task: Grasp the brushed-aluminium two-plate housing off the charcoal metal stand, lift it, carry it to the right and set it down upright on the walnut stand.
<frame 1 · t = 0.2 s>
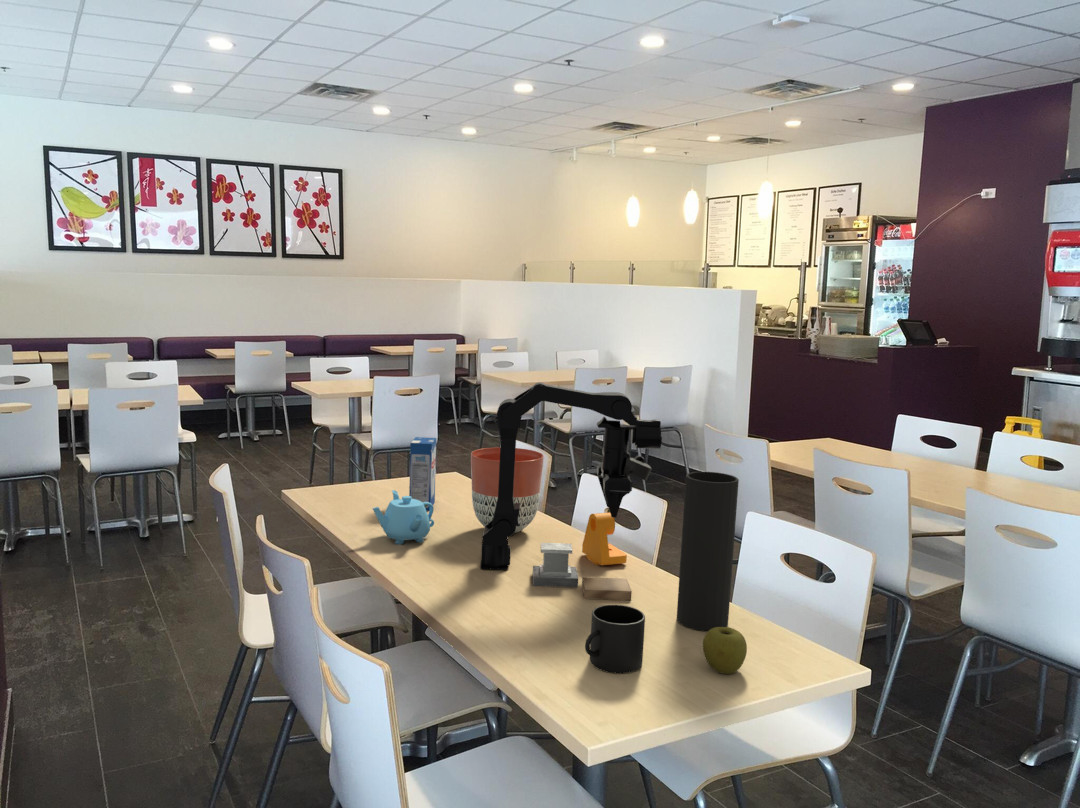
hand: (611, 512, 200), 14 cm above the table, fingers open, 9 cm apart
milk carton: (422, 506, 253), on the table
planter: (504, 532, 230), on the table
vase: (702, 622, 172), on the table
teapot: (403, 540, 219), on the table
apple: (723, 670, 150), on the table
stand a: (554, 580, 193), on the table
stand b: (606, 592, 186), on the table
housing: (555, 571, 193), point 2 cm above the table, touching stand a
mug: (610, 665, 151), on the table
bracket: (604, 561, 209), on the table
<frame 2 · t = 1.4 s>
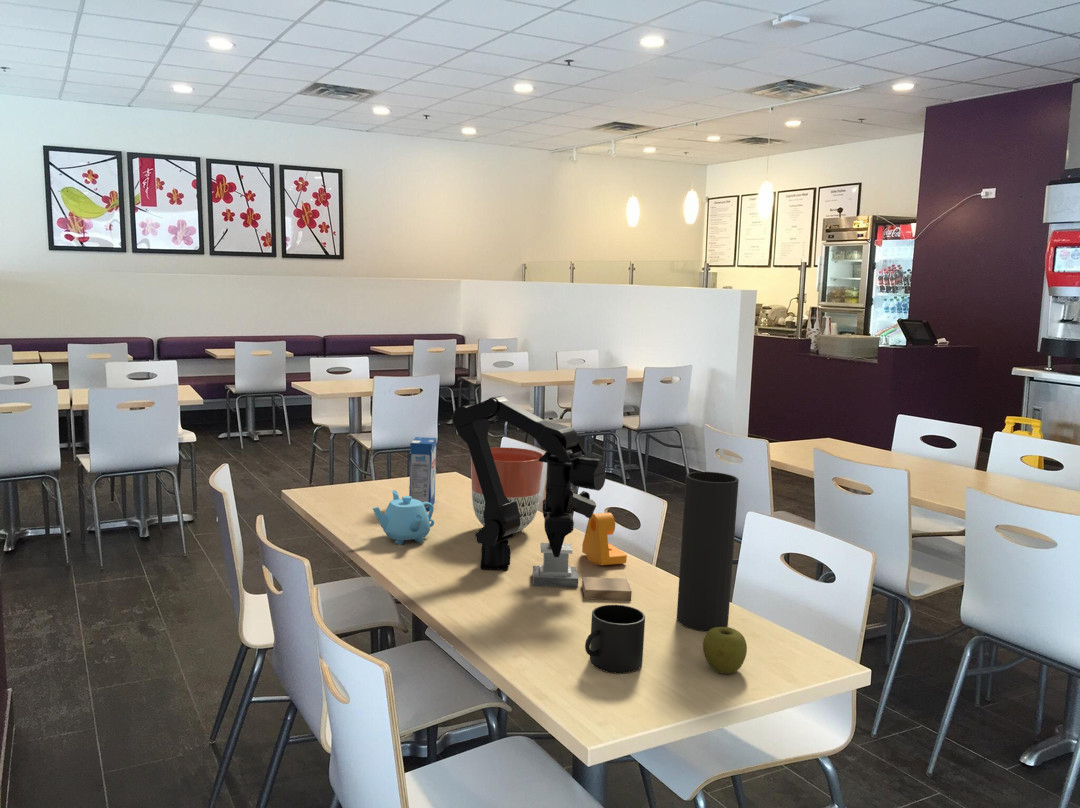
hand: (555, 550, 192), 7 cm above the table, fingers open, 9 cm apart
nothing on the table moved.
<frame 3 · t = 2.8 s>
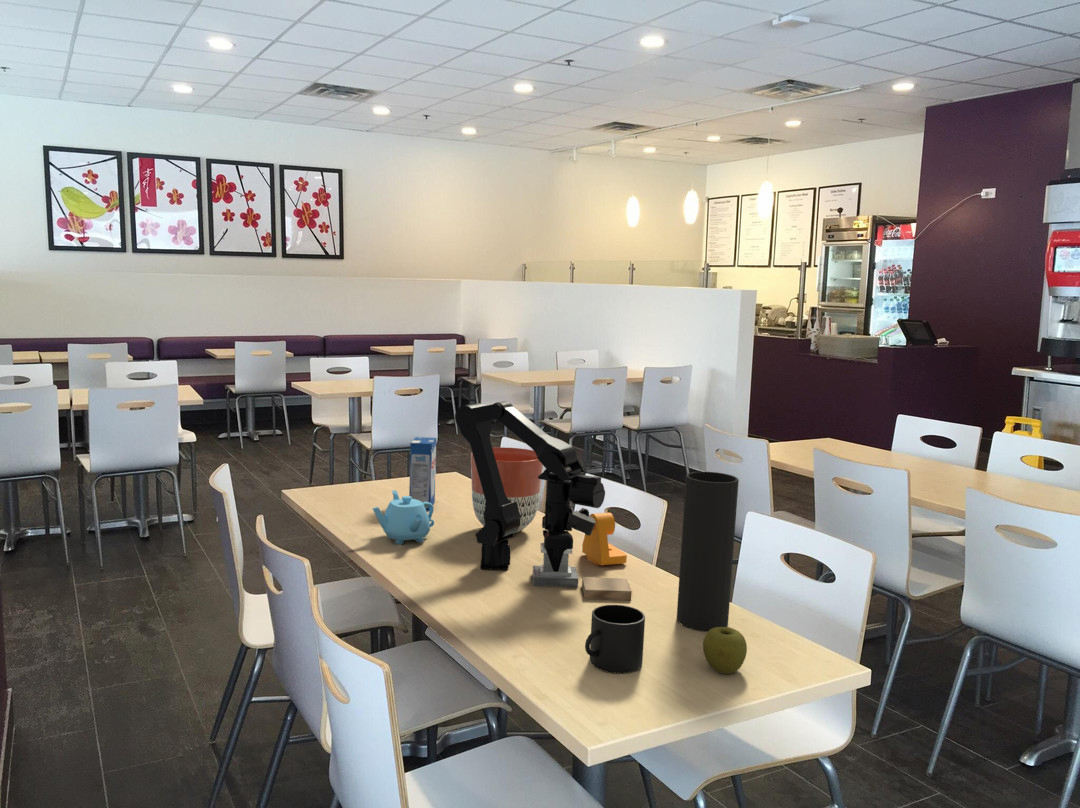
hand: (555, 567, 192), 3 cm above the table, fingers closed on housing, 5 cm apart
housing: (555, 571, 193), point 2 cm above the table, touching gripper, stand a
everything else where it was.
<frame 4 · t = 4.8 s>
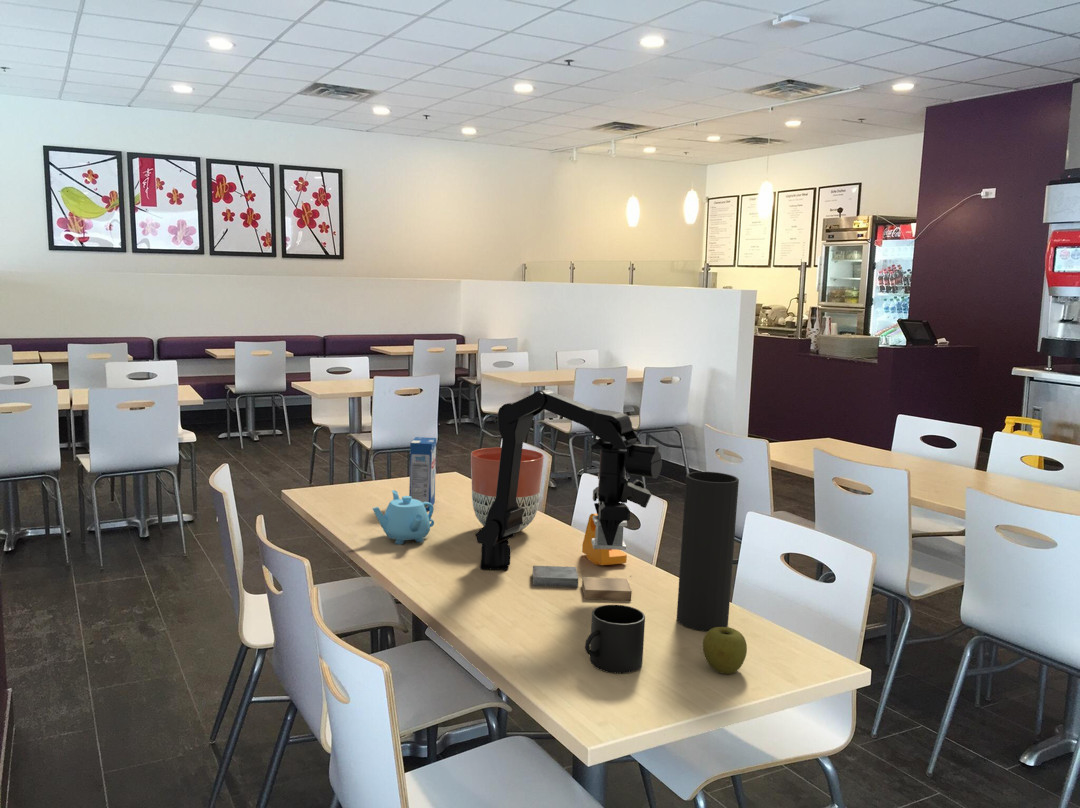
hand: (608, 541, 185), 12 cm above the table, fingers closed on housing, 5 cm apart
housing: (608, 545, 185), point 11 cm above the table, touching gripper
everything else where it was.
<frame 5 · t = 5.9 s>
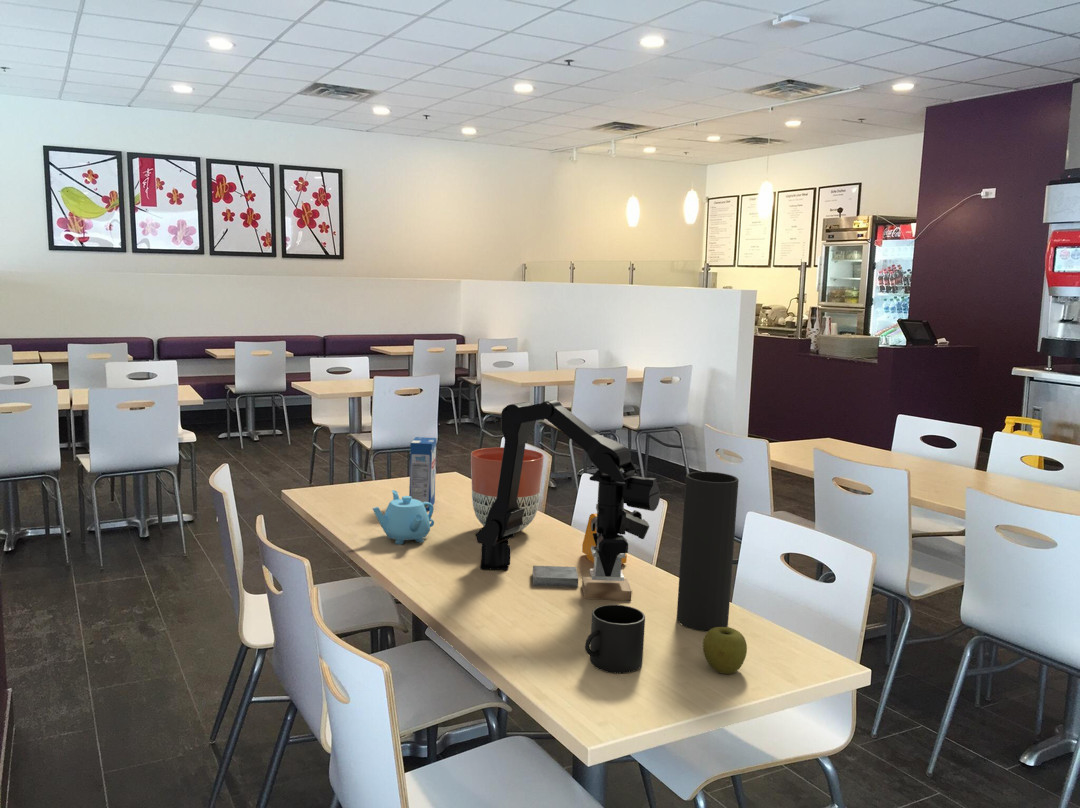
hand: (606, 572, 186), 5 cm above the table, fingers closed on housing, 5 cm apart
housing: (606, 576, 186), point 4 cm above the table, touching gripper
everything else where it was.
when the fingers open (3 cm above the table, at t = 7.0 s): housing stays where it is, resting on stand b.
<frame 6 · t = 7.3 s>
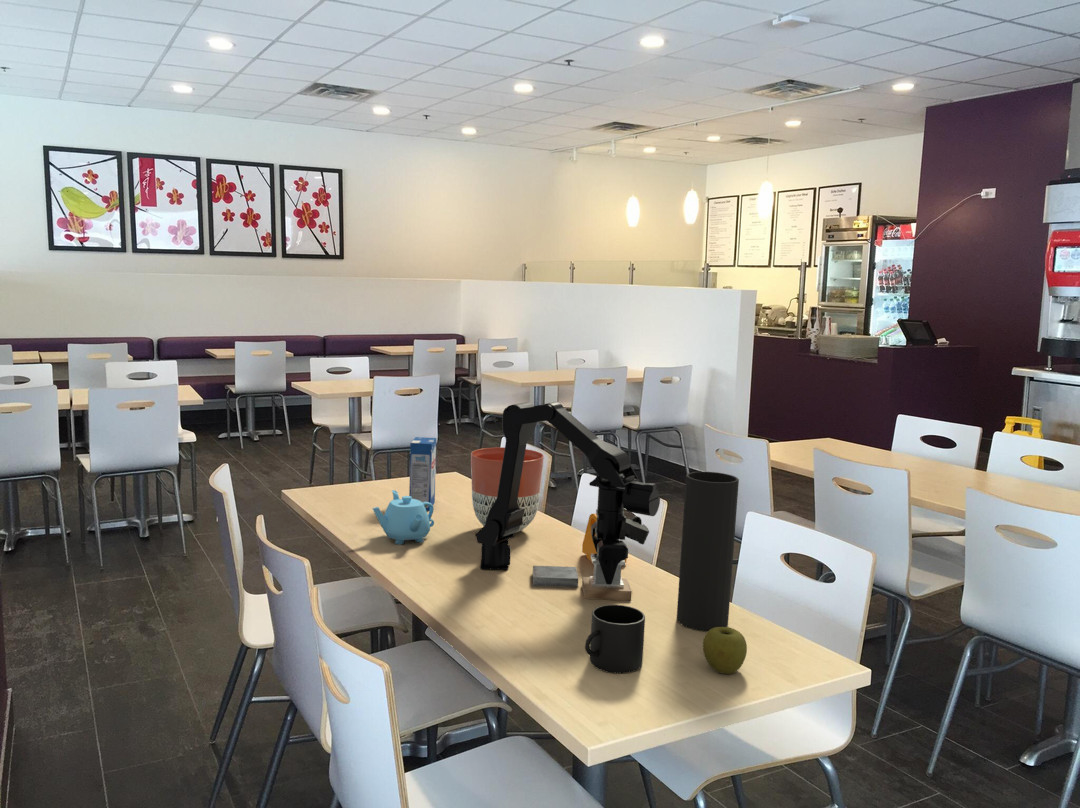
hand: (606, 577, 186), 3 cm above the table, fingers open, 8 cm apart
housing: (606, 583, 186), point 2 cm above the table, touching stand b
everything else where it was.
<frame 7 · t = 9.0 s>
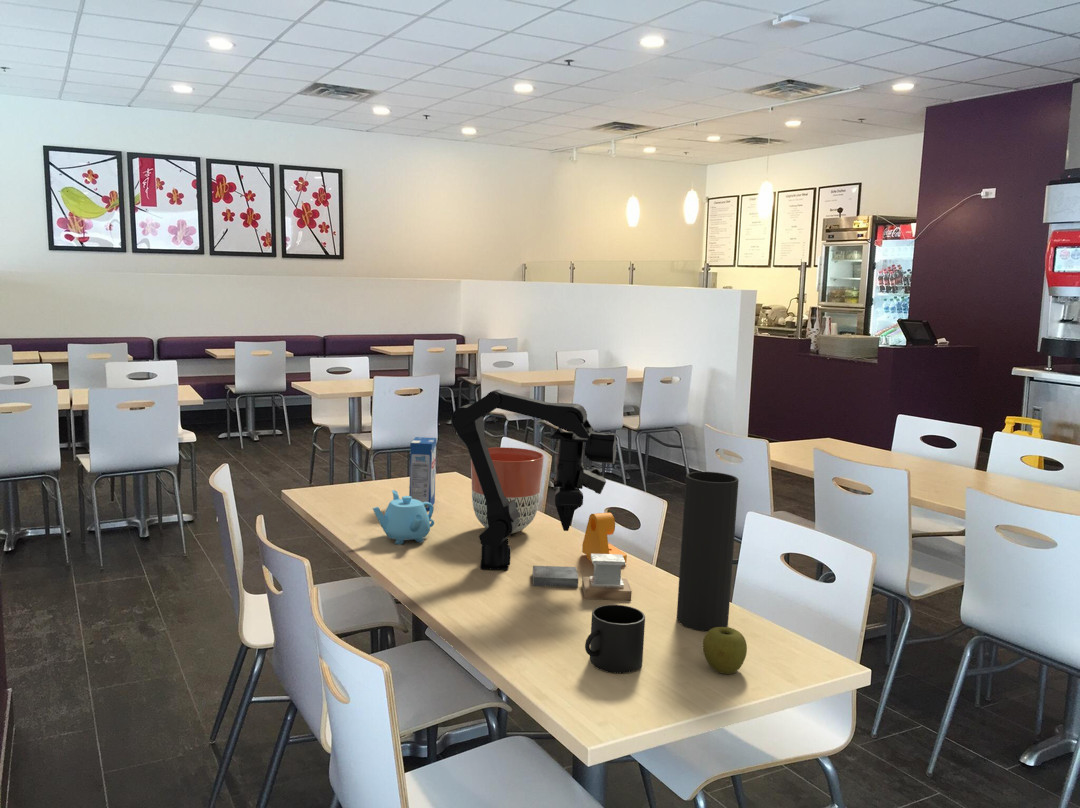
hand: (565, 525, 196), 12 cm above the table, fingers open, 9 cm apart
nothing on the table moved.
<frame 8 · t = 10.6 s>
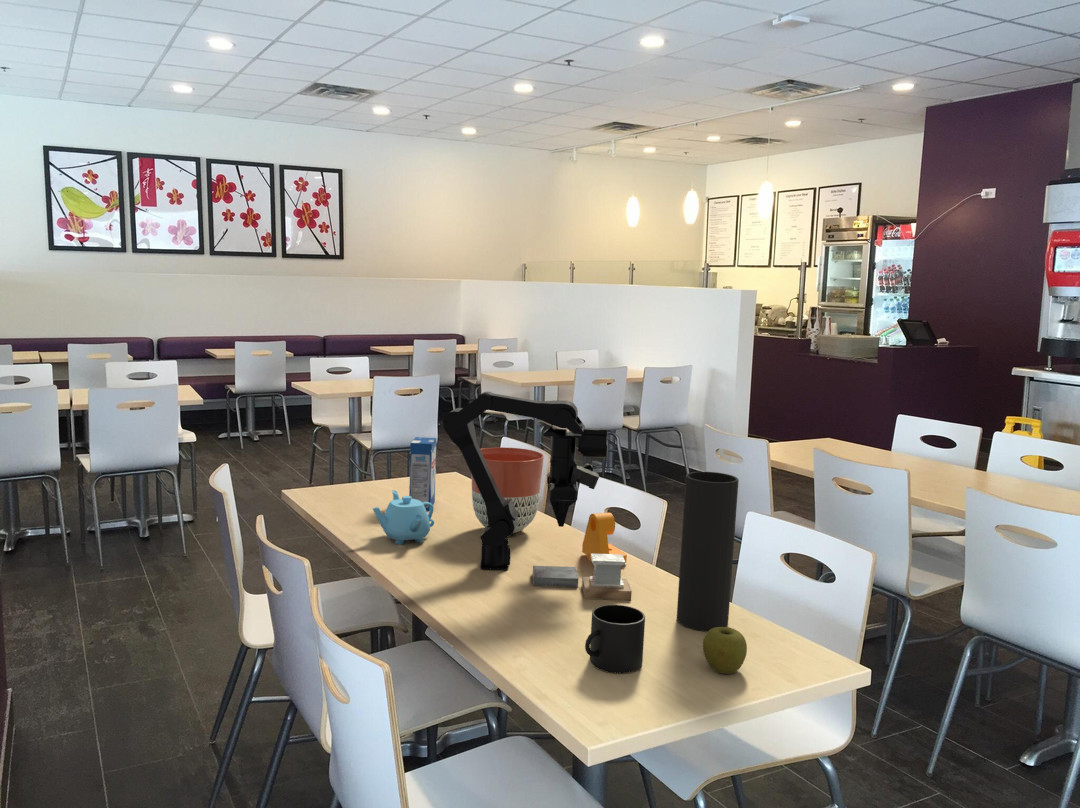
hand: (560, 521, 198), 12 cm above the table, fingers open, 9 cm apart
nothing on the table moved.
at the end: housing inside the target area on the stand b (0.0 cm from its centre), point 2.0 cm above the stand b's base; housing tilted 0°; the gripper is holding nothing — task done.
